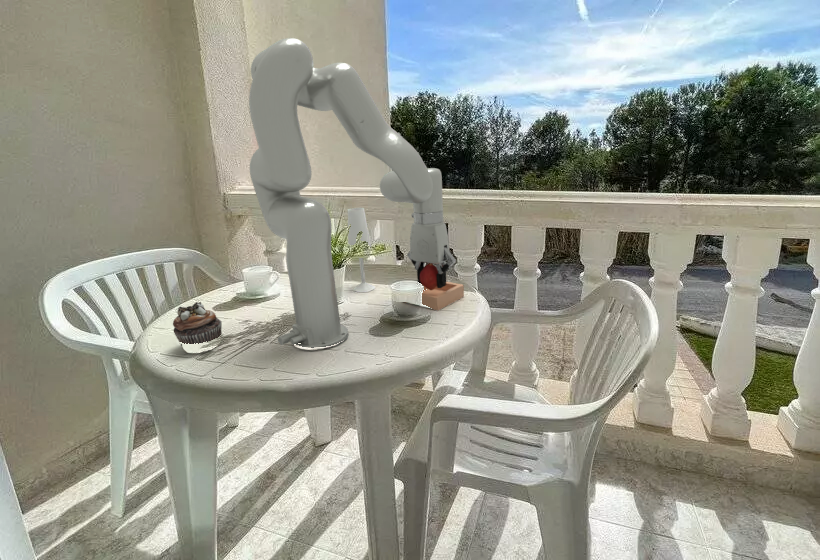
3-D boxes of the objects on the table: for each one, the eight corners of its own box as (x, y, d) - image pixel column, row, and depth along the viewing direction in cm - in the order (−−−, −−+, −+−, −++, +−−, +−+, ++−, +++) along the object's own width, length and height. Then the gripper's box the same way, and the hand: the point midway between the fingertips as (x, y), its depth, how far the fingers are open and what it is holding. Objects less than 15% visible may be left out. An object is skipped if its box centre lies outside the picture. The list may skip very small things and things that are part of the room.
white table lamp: (364, 283, 132) (356, 206, 125) (379, 286, 128) (372, 207, 121) (348, 289, 127) (339, 210, 120) (363, 293, 123) (355, 211, 116)
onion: (417, 293, 112) (416, 264, 109) (423, 286, 117) (422, 258, 114) (439, 294, 110) (438, 264, 108) (444, 287, 115) (443, 258, 113)
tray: (437, 310, 107) (437, 298, 106) (402, 302, 114) (401, 290, 113) (463, 296, 115) (463, 284, 114) (429, 289, 123) (428, 278, 122)
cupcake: (190, 360, 89) (179, 316, 86) (172, 348, 96) (161, 307, 93) (233, 343, 96) (224, 302, 93) (213, 333, 102) (205, 294, 99)
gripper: (393, 218, 111) (398, 283, 116) (447, 222, 100) (450, 294, 105) (412, 214, 116) (416, 276, 121) (465, 217, 105) (466, 286, 110)
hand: (431, 284), depth 113 cm, fingers closed on onion, 5 cm apart
